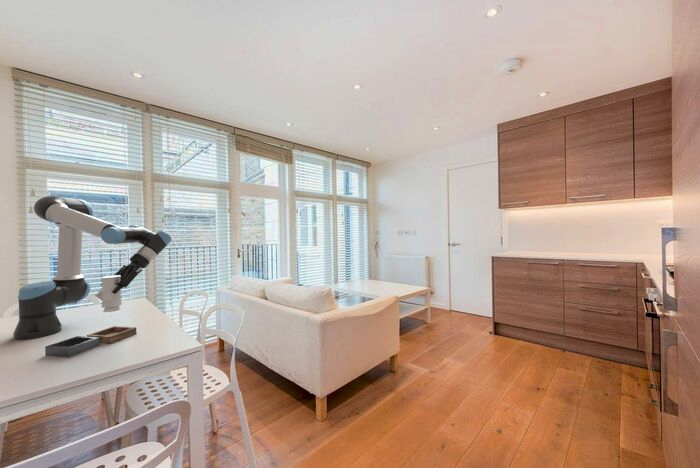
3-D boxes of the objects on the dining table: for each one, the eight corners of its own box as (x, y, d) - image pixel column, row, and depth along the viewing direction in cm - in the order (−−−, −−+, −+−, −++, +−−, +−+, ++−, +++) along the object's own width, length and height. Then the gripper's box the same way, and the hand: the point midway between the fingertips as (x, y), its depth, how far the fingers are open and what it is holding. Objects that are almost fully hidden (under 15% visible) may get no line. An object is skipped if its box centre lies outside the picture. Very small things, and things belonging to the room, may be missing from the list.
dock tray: (86, 342, 122) (86, 335, 122) (114, 332, 134) (114, 326, 134) (110, 343, 120) (110, 336, 120) (136, 333, 132) (136, 327, 132)
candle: (112, 307, 130) (111, 275, 130) (125, 308, 129) (125, 275, 129) (97, 312, 124) (96, 277, 123) (111, 312, 123) (110, 277, 122)
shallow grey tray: (45, 355, 109) (45, 346, 109) (77, 344, 120) (77, 336, 120) (68, 357, 107) (68, 348, 107) (99, 345, 118) (99, 337, 118)
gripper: (160, 263, 135) (120, 305, 121) (139, 261, 145) (99, 300, 131) (147, 253, 130) (104, 296, 116) (126, 252, 140) (84, 291, 126)
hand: (101, 298), depth 123 cm, fingers closed on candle, 7 cm apart
